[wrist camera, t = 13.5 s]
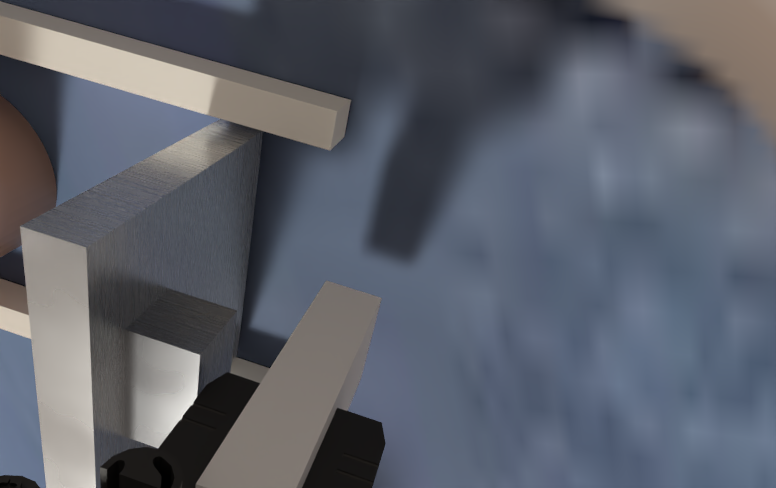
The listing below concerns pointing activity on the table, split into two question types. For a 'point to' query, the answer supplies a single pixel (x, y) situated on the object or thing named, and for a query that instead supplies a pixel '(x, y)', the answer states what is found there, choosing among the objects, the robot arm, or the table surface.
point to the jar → (21, 176)
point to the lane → (170, 85)
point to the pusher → (138, 297)
